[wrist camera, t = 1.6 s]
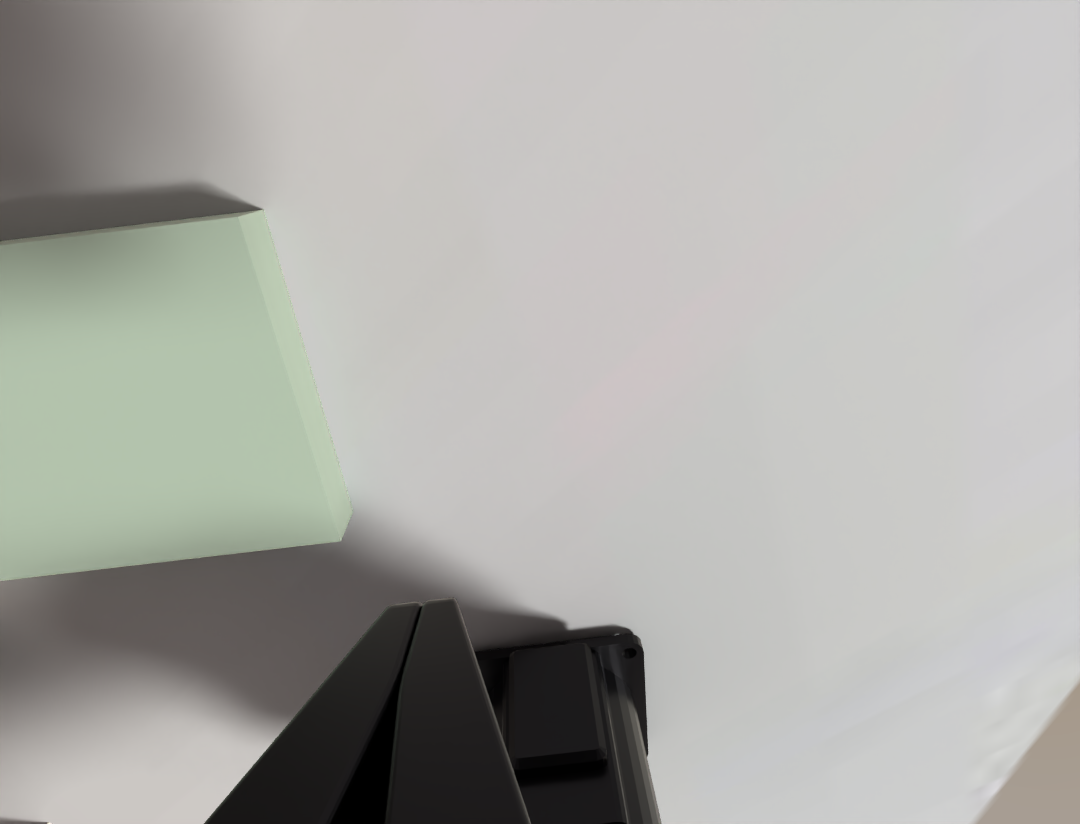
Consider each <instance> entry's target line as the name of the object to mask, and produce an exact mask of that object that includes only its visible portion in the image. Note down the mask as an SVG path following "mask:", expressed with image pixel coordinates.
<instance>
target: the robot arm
mask: <svg viewBox="0 0 1080 824" xmlns="http://www.w3.org/2000/svg"><path fill="white" fill-rule="evenodd" d="M627 648H631V649H628V650H626V649H627ZM647 756H648V739H647V717H646V695H645V672H644V651H643V648H642V644H641V640H640V638H638V637H637V636H636V635H633V634H623V635H615V636H606V637H597V638H589V639H580V640H572V641H563V642H555V643H546V644H538V645H529V646H520V647H512V648H503V649H495V650H486V651H478V652H474V650H473V647H472V644H471V641H470V638H469V635H468V632H467V629H466V626H465V623H464V620H463V617H462V614H461V611H460V608H459V605H458V602H457V600H456V599H455V598H452V597H451V598H442V599H434V600H428V601H426V602H425V603H424V604H422V603H420V602H408V603H400V604H393V605H390V606H389V607H388V608H386V609H385V611H384V612H383V613H382V614H381V615H380V616H379V618H378V619H377V620H376V621H375V622H374V624H373V625H372V626H371V627H370V628H369V629H368V631H367V632H366V633H365V634H364V635H363V637H362V638H361V639H360V640H359V641H358V642H357V644H356V645H355V646H354V647H353V648H352V650H351V651H350V652H349V653H348V654H347V655H346V657H345V658H344V659H343V660H342V661H341V662H340V664H339V665H338V666H337V667H336V668H335V670H334V671H333V672H332V673H331V674H330V675H329V677H328V678H327V679H326V680H325V681H324V683H323V684H322V685H321V686H320V687H319V688H318V690H317V691H316V692H315V693H314V694H313V696H312V697H311V698H310V699H309V700H308V701H307V703H306V704H305V705H304V706H303V707H302V709H301V710H300V711H299V712H298V713H297V714H296V716H295V717H294V718H293V719H292V720H291V722H290V723H289V724H288V725H287V726H286V727H285V729H284V730H283V731H282V732H281V733H280V734H279V736H278V737H277V738H276V739H275V740H274V742H273V743H272V744H271V745H270V746H269V747H268V749H267V750H266V751H265V752H264V753H263V755H262V756H261V757H260V758H259V759H258V760H257V762H256V763H255V764H254V765H253V766H252V768H251V769H250V770H249V771H248V772H247V773H246V775H245V776H244V777H243V778H242V779H241V781H240V782H239V783H238V784H237V785H236V786H235V788H234V789H233V790H232V791H231V792H230V794H229V795H228V796H227V797H226V798H225V799H224V801H223V802H222V803H221V804H220V805H219V806H218V808H217V809H216V810H215V811H214V812H213V814H212V815H211V816H210V817H209V818H208V819H207V821H206V822H205V823H204V824H661V819H660V815H659V810H658V806H657V801H656V797H655V792H654V788H653V783H652V779H651V774H650V770H649V765H648V760H647Z"/></svg>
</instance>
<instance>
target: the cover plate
mask: <svg viewBox="0 0 1080 824" xmlns="http://www.w3.org/2000/svg"><path fill="white" fill-rule="evenodd" d="M352 514H353V509H352V505H351V502H350V498H349V495H348V492H347V488H346V485H345V482H344V478H343V475H342V471H341V468H340V465H339V461H338V458H337V455H336V451H335V448H334V445H333V441H332V438H331V434H330V431H329V428H328V424H327V421H326V418H325V414H324V411H323V407H322V404H321V401H320V397H319V394H318V391H317V387H316V384H315V381H314V377H313V374H312V370H311V367H310V364H309V360H308V357H307V354H306V350H305V347H304V344H303V340H302V337H301V333H300V330H299V327H298V323H297V320H296V317H295V313H294V310H293V306H292V303H291V300H290V296H289V293H288V290H287V286H286V283H285V280H284V276H283V273H282V269H281V266H280V263H279V259H278V256H277V253H276V249H275V246H274V243H273V239H272V236H271V232H270V229H269V226H268V222H267V219H266V216H265V212H264V210H255V211H247V212H239V213H230V214H222V215H214V216H205V217H197V218H188V219H180V220H172V221H163V222H155V223H147V224H138V225H130V226H122V227H113V228H105V229H97V230H88V231H80V232H72V233H63V234H55V235H47V236H38V237H30V238H22V239H13V240H5V241H0V581H6V580H14V579H23V578H31V577H40V576H48V575H57V574H66V573H74V572H83V571H91V570H100V569H108V568H117V567H125V566H134V565H143V564H151V563H160V562H168V561H177V560H185V559H194V558H203V557H211V556H220V555H228V554H237V553H245V552H254V551H263V550H271V549H280V548H288V547H297V546H305V545H314V544H323V543H331V542H340V541H341V540H342V537H343V535H344V532H345V530H346V528H347V525H348V523H349V521H350V518H351V516H352Z"/></svg>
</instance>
